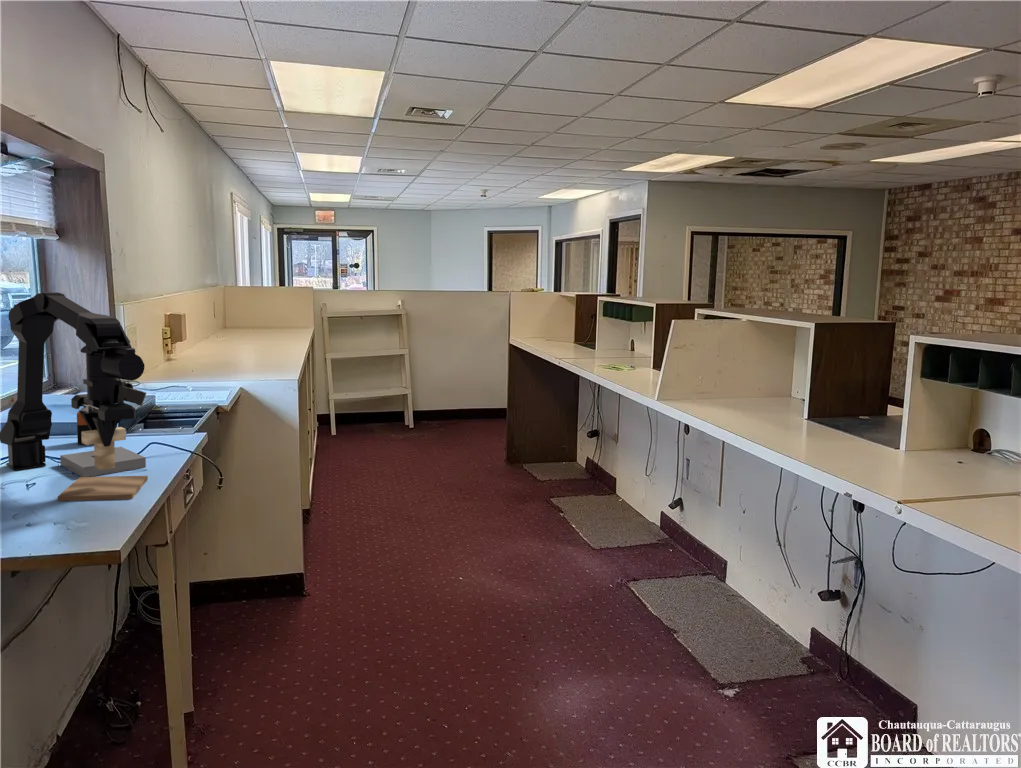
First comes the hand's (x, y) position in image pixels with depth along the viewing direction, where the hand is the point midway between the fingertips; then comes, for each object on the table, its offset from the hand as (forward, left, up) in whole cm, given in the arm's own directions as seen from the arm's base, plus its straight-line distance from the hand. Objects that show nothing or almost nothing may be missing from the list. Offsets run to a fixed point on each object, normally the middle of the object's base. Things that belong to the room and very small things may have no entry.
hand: (103, 444), depth 148 cm
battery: (+14, +44, -11) cm, 47 cm away
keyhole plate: (+7, +19, -10) cm, 23 cm away
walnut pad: (0, 0, -10) cm, 10 cm away
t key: (0, 0, -5) cm, 5 cm away
